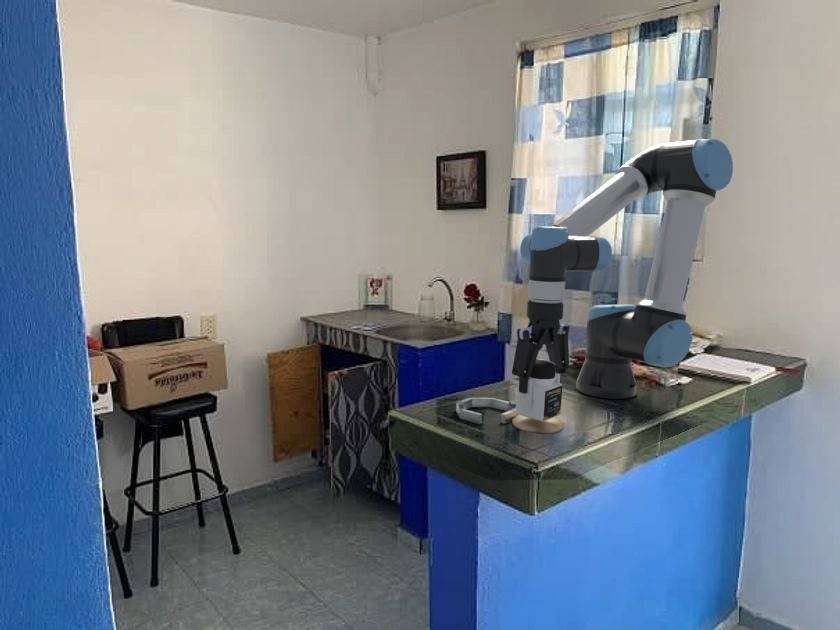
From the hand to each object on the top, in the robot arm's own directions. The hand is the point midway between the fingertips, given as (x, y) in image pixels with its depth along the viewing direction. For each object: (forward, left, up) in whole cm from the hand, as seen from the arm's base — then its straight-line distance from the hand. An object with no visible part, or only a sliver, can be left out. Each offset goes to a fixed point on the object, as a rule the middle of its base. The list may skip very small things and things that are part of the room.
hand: (539, 404), depth 135 cm
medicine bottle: (0, 0, -3) cm, 3 cm away
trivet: (0, 0, -5) cm, 5 cm away
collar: (+10, -7, -5) cm, 13 cm away
